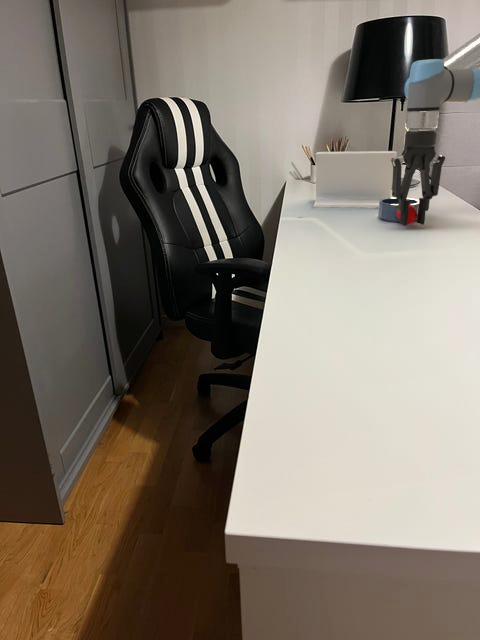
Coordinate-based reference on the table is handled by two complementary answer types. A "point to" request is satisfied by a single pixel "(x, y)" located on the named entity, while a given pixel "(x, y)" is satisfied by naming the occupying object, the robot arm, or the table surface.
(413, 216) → the strawberry
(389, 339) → the table surface
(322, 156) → the tablet stand
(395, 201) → the bowl
